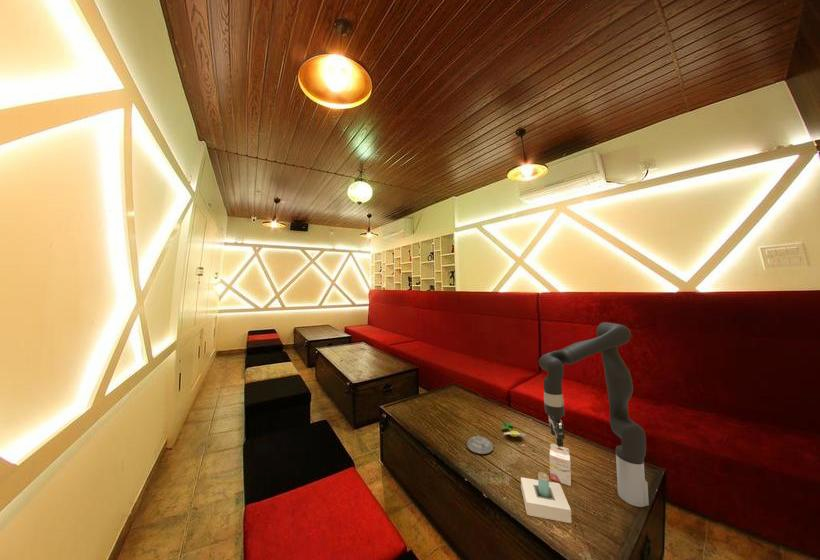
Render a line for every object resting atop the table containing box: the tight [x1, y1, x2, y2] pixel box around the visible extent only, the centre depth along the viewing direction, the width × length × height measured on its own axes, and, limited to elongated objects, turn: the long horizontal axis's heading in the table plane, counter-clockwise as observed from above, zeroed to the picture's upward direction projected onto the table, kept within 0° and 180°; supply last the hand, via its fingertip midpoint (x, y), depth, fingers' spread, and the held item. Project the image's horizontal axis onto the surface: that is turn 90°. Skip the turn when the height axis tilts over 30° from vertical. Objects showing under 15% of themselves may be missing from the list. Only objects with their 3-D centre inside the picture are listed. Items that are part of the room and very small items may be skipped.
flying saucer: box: [466, 435, 494, 455], centre depth 147 cm, size 15×15×6 cm
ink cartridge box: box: [549, 443, 572, 487], centre depth 121 cm, size 9×5×15 cm, turn 58°
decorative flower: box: [500, 417, 527, 438], centre depth 163 cm, size 13×5×30 cm
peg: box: [537, 471, 550, 498], centre depth 107 cm, size 4×4×12 cm
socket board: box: [520, 476, 572, 524], centre depth 107 cm, size 16×14×5 cm
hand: (556, 440), depth 110 cm, fingers open, 8 cm apart
